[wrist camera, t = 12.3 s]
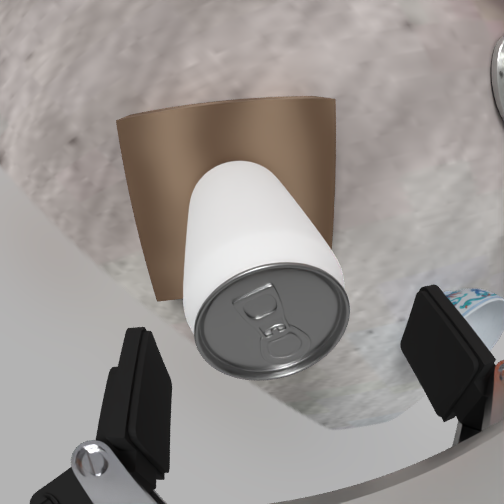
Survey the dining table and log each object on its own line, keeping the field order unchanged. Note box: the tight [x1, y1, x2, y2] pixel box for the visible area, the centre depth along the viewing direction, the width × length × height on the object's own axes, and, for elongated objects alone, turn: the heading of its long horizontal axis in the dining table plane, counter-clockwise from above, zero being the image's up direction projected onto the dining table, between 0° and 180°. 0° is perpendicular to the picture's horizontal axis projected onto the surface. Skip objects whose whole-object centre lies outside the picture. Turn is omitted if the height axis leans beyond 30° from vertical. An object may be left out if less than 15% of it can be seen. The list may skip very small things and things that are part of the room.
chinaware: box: [419, 288, 504, 383], centre depth 33 cm, size 15×15×8 cm
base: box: [116, 96, 336, 301], centre depth 23 cm, size 14×14×4 cm
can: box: [183, 161, 350, 380], centre depth 16 cm, size 6×6×12 cm
